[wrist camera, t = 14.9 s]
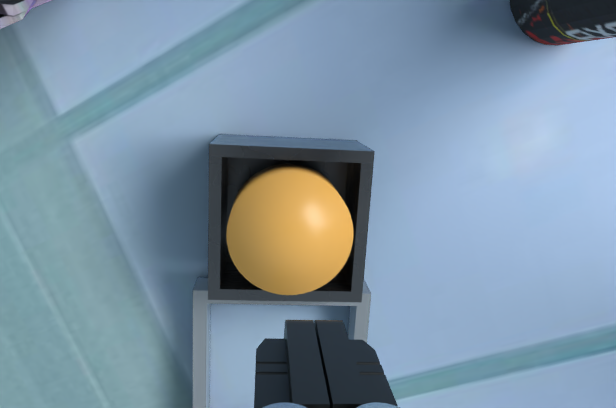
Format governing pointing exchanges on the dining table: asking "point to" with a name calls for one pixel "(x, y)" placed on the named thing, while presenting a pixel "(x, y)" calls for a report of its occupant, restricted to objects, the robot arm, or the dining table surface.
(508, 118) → the dining table surface
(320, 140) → the button housing
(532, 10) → the deodorant
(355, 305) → the tray
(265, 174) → the button
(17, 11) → the decorative bowl
